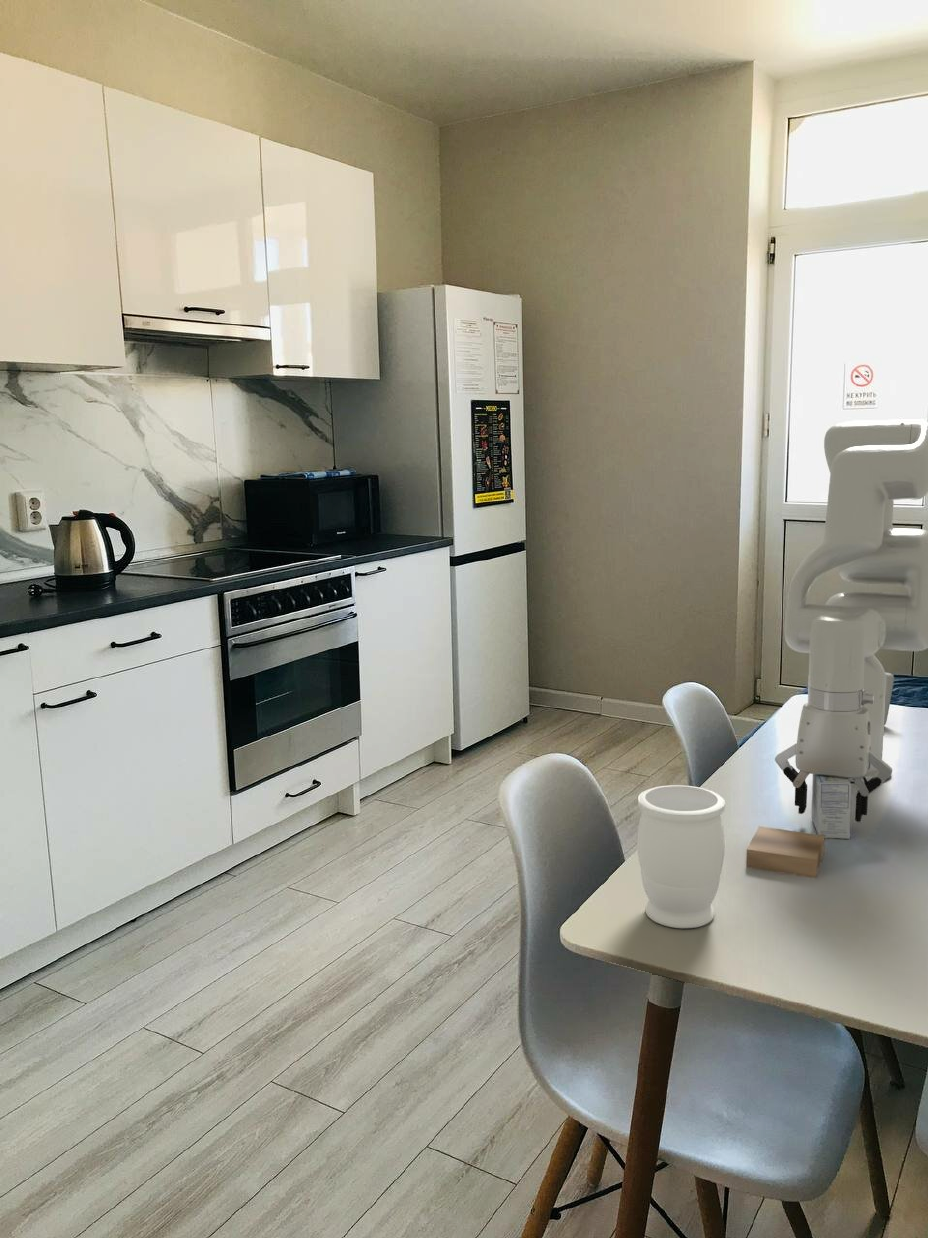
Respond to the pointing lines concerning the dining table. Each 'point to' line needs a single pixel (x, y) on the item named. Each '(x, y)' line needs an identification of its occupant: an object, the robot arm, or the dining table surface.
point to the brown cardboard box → (786, 851)
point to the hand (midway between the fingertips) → (830, 814)
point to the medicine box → (831, 806)
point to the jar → (680, 853)
